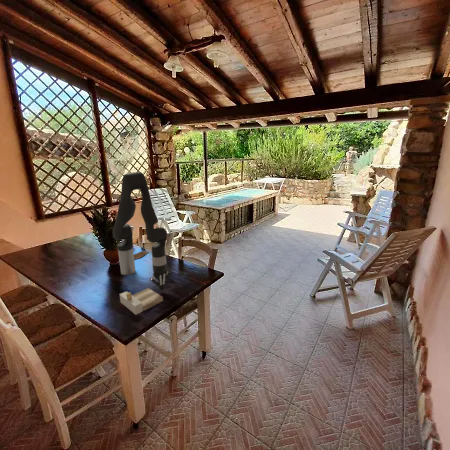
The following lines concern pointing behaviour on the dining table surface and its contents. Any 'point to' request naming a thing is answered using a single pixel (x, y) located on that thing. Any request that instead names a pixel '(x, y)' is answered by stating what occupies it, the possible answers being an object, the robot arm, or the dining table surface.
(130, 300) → the block
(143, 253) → the wooden fragment
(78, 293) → the dining table surface
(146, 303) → the maple plate
